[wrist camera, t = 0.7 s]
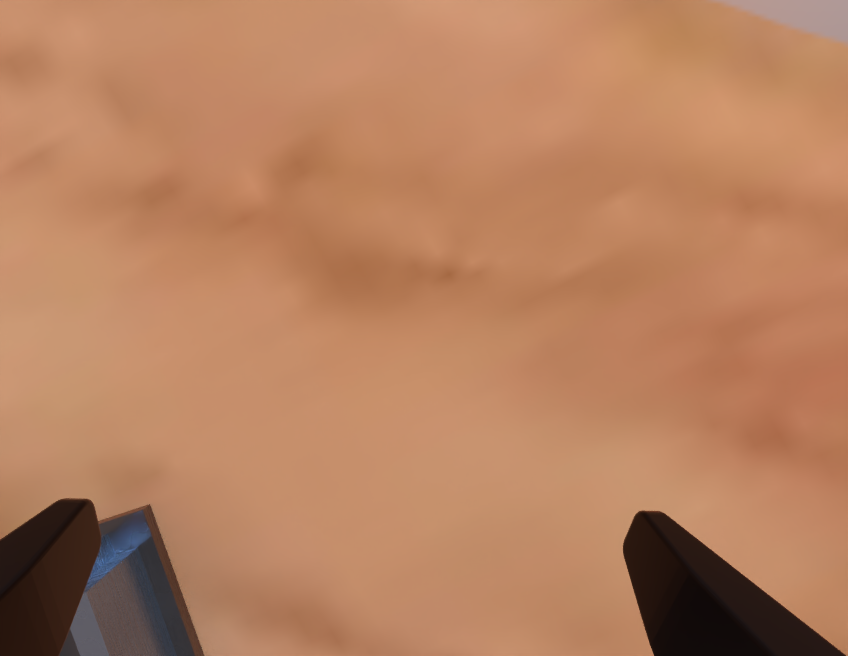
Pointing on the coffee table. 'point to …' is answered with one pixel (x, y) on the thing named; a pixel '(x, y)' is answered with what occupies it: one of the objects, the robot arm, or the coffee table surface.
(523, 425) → the coffee table surface
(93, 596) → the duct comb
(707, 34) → the coffee table surface
